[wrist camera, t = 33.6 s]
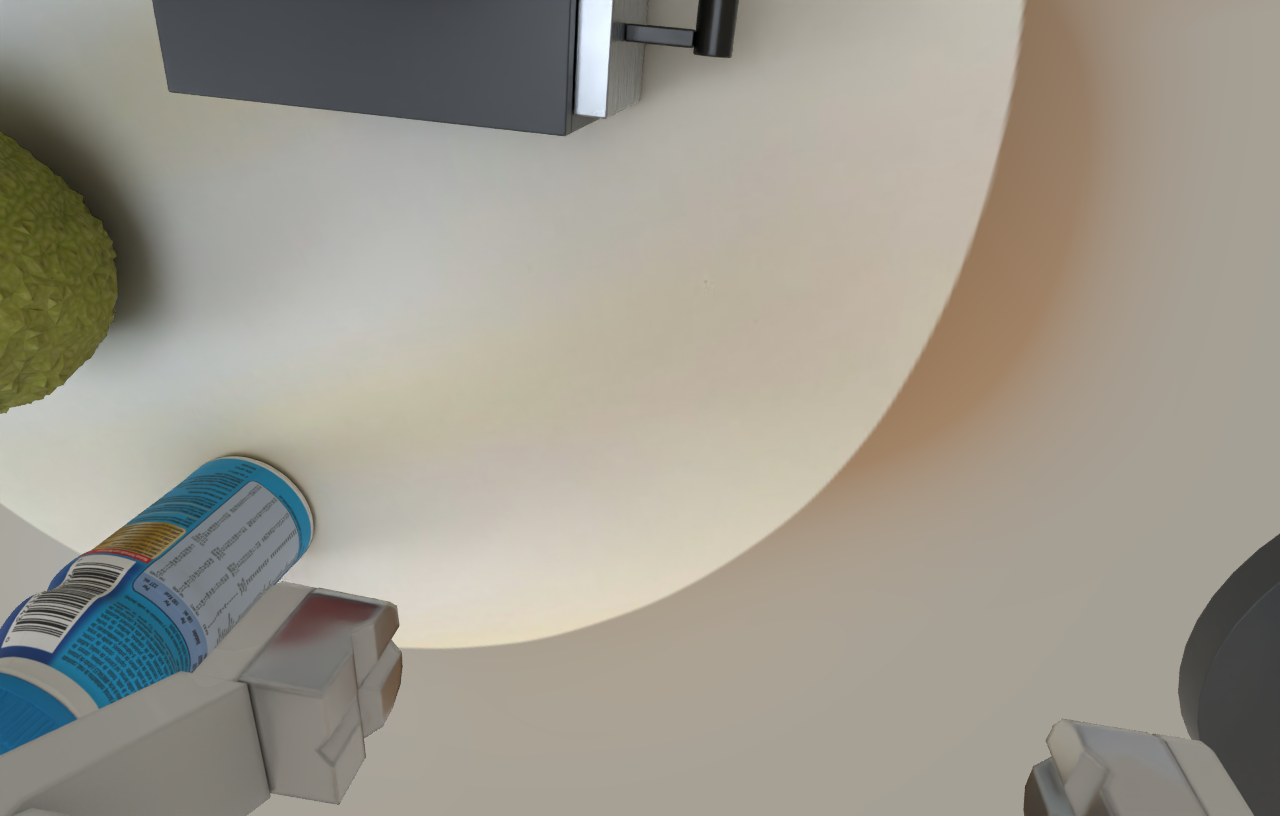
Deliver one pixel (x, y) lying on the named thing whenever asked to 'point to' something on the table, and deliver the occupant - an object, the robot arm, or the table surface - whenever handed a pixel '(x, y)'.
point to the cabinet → (382, 57)
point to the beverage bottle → (149, 596)
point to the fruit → (48, 279)
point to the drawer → (635, 48)
